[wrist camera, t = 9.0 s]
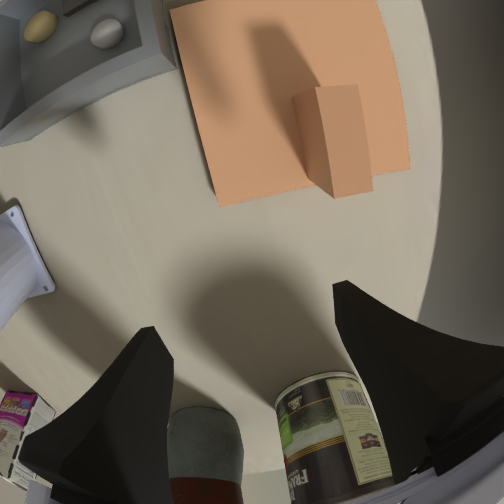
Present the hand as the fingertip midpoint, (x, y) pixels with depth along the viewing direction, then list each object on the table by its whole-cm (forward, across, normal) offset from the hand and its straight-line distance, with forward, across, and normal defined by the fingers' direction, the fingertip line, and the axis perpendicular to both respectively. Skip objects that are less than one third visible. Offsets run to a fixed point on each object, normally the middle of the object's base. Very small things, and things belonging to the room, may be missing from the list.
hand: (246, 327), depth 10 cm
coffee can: (+9, -4, +21) cm, 24 cm away
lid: (+9, -6, -9) cm, 14 cm away
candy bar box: (+9, +40, +18) cm, 45 cm away
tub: (+9, +7, -18) cm, 21 cm away
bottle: (+9, +10, +22) cm, 26 cm away
